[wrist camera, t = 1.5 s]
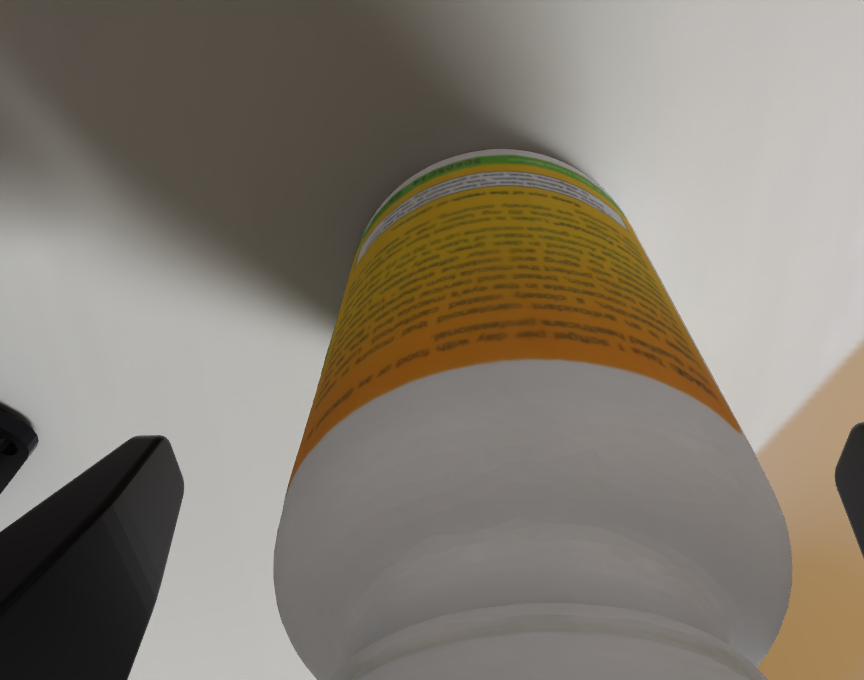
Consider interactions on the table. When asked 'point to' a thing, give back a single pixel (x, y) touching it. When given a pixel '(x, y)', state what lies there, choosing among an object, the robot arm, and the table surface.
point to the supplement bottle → (522, 454)
